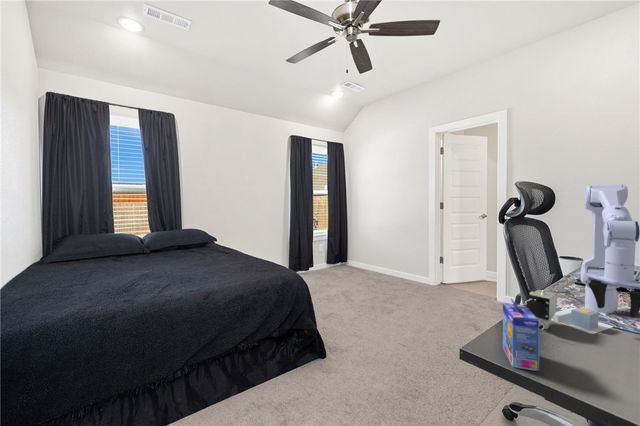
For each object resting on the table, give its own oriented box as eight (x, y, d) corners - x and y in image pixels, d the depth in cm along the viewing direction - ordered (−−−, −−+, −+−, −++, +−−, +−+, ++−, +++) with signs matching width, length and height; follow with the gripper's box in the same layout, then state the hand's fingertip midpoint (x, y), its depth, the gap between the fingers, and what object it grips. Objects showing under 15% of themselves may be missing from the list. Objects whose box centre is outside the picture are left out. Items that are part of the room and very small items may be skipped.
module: (579, 321, 91) (580, 307, 91) (598, 327, 87) (598, 312, 87) (570, 324, 89) (571, 309, 89) (588, 330, 85) (589, 314, 85)
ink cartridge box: (500, 347, 77) (502, 293, 77) (524, 350, 76) (526, 296, 75) (511, 367, 68) (513, 306, 67) (539, 372, 66) (542, 309, 66)
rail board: (571, 316, 97) (571, 307, 97) (613, 329, 88) (614, 319, 88) (549, 322, 93) (550, 312, 93) (592, 337, 83) (592, 326, 83)
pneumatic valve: (556, 326, 90) (558, 288, 89) (546, 338, 82) (548, 296, 82) (535, 320, 94) (536, 284, 94) (523, 331, 87) (525, 291, 86)
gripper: (579, 259, 86) (577, 305, 86) (650, 271, 72) (647, 324, 73) (592, 257, 88) (590, 301, 89) (662, 268, 75) (659, 319, 76)
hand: (616, 311), depth 81 cm, fingers open, 6 cm apart
